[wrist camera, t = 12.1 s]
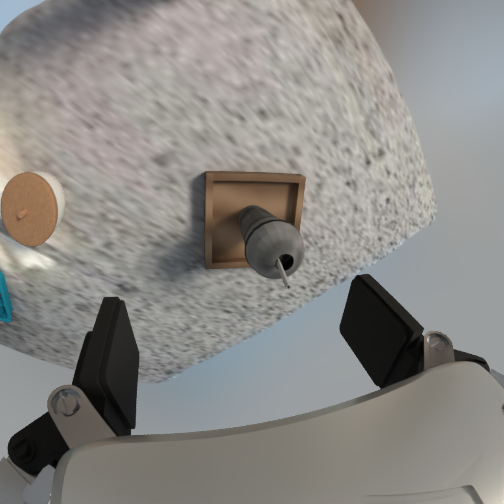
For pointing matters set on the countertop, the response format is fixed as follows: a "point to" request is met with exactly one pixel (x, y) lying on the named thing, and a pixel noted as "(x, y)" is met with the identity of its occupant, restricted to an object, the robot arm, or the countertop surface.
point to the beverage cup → (270, 244)
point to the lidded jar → (32, 207)
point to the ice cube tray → (4, 301)
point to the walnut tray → (235, 200)
